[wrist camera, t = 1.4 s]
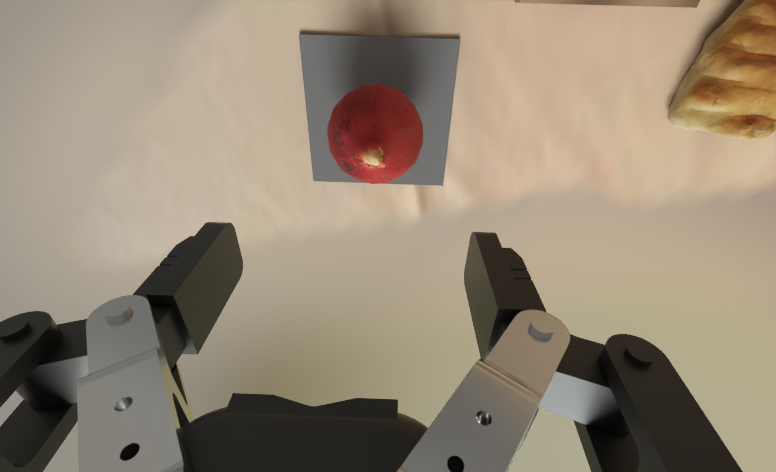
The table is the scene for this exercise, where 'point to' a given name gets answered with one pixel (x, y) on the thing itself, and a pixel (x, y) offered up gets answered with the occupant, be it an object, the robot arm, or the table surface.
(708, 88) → the pastry
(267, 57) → the table surface
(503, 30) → the table surface
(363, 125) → the onion
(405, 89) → the mat
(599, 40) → the table surface
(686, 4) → the beige coaster
